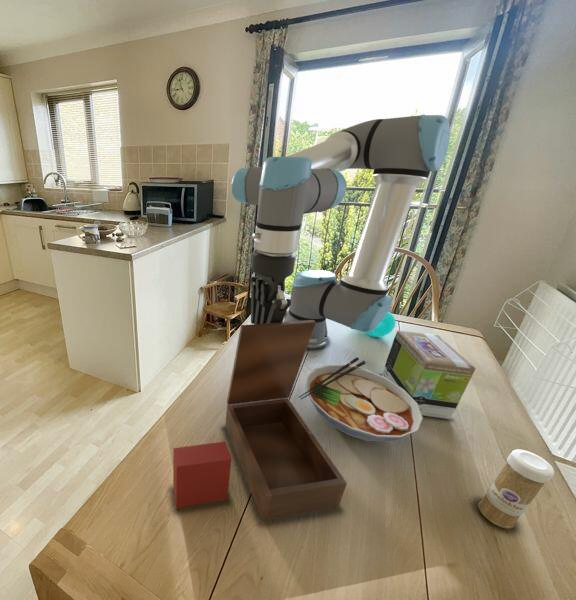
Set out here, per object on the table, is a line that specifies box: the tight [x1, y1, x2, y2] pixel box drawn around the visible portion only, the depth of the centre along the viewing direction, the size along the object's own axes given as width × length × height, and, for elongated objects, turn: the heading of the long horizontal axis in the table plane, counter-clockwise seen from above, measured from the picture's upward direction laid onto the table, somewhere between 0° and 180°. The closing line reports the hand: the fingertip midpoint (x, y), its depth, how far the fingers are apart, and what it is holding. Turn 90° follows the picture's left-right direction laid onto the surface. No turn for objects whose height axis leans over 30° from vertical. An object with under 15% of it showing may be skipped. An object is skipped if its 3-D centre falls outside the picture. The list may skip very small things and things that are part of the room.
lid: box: [226, 320, 316, 405], centre depth 61 cm, size 21×14×1 cm
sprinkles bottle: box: [477, 448, 555, 530], centre depth 50 cm, size 5×5×13 cm
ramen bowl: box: [298, 356, 424, 442], centre depth 70 cm, size 25×23×8 cm
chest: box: [224, 398, 348, 521], centre depth 60 cm, size 20×14×7 cm
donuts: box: [364, 311, 397, 338], centre depth 107 cm, size 10×10×10 cm
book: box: [172, 441, 232, 511], centre depth 53 cm, size 4×9×11 cm, turn 99°
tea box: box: [381, 330, 476, 420], centre depth 76 cm, size 15×10×15 cm
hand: (258, 360), depth 65 cm, fingers closed
